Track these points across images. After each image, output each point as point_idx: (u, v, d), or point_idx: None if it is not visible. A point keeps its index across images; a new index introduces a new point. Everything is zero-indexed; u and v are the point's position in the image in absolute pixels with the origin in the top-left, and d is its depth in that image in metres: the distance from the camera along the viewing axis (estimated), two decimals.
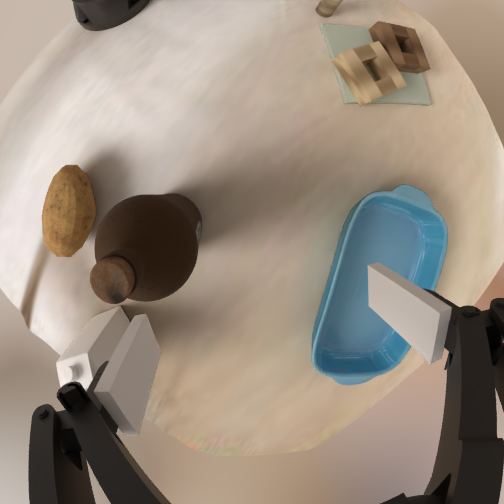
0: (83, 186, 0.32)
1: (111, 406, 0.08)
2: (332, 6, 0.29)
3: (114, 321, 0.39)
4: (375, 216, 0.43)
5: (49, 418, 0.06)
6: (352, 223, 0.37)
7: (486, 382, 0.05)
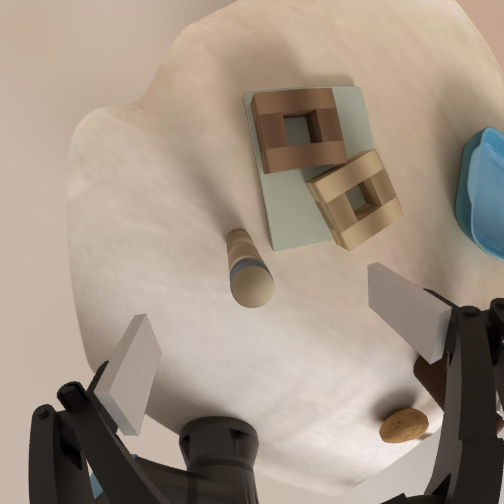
0: (401, 424, 0.42)
1: (111, 406, 0.08)
2: None
3: None
4: None
5: (49, 418, 0.06)
6: (482, 247, 0.33)
7: (486, 382, 0.05)
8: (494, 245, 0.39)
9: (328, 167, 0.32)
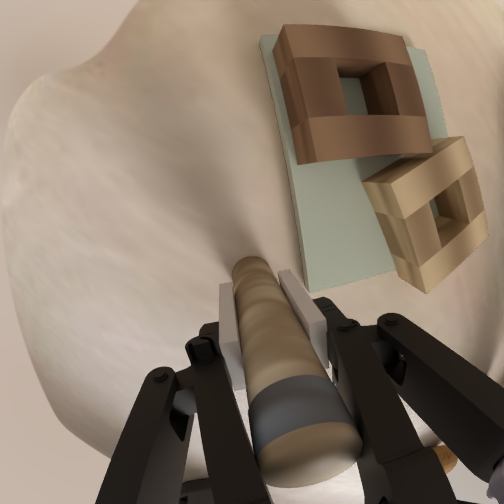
0: None
1: (233, 357, 0.11)
2: None
3: None
4: None
5: (166, 383, 0.09)
6: None
7: (387, 395, 0.06)
8: None
9: (394, 159, 0.19)
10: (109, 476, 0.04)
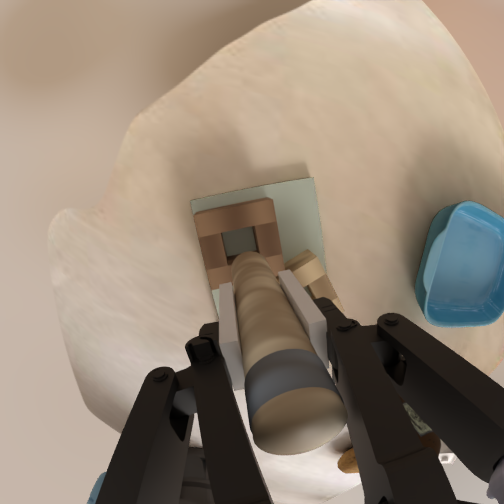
0: None
1: (233, 357, 0.11)
2: None
3: None
4: None
5: (166, 383, 0.09)
6: (438, 324, 0.37)
7: (387, 395, 0.06)
8: (461, 306, 0.43)
9: None
10: (109, 476, 0.04)
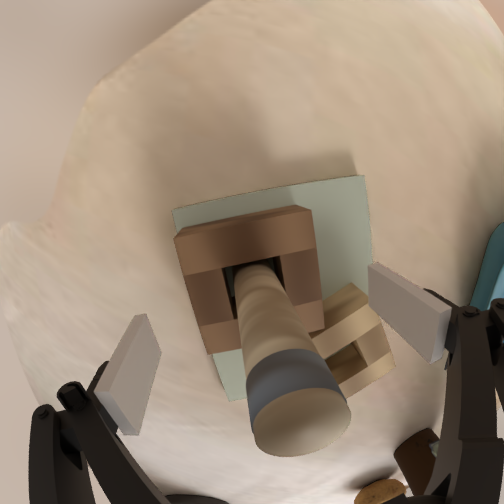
0: (375, 498, 0.33)
1: (111, 406, 0.08)
2: None
3: None
4: None
5: (49, 418, 0.06)
6: None
7: (486, 381, 0.05)
8: None
9: None
10: None
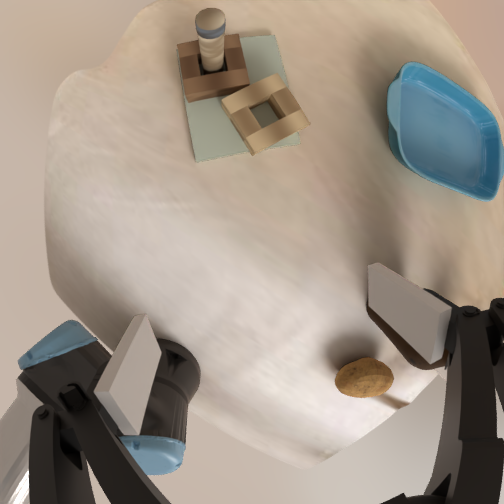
0: (357, 370, 0.46)
1: (111, 406, 0.08)
2: None
3: None
4: None
5: (49, 418, 0.06)
6: (422, 174, 0.37)
7: (486, 382, 0.05)
8: (449, 180, 0.43)
9: None
10: None
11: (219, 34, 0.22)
